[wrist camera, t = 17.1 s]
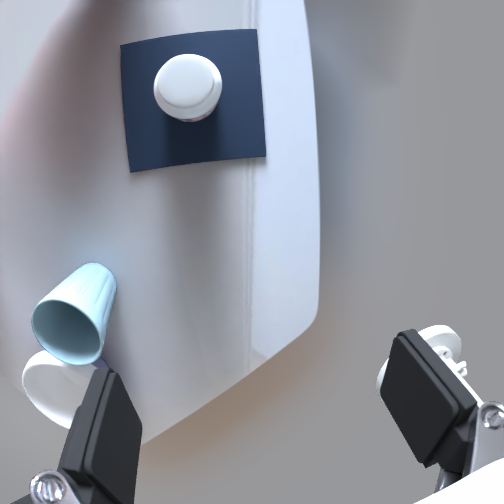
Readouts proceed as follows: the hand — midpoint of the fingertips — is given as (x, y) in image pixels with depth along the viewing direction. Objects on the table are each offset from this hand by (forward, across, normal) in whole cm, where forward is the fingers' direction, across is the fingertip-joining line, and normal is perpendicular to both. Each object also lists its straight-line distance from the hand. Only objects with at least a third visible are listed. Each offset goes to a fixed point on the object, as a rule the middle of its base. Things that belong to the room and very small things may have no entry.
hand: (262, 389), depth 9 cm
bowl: (+25, +23, +20) cm, 39 cm away
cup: (+25, +16, +7) cm, 30 cm away
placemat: (+24, +3, -12) cm, 27 cm away
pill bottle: (+24, +2, -12) cm, 27 cm away
